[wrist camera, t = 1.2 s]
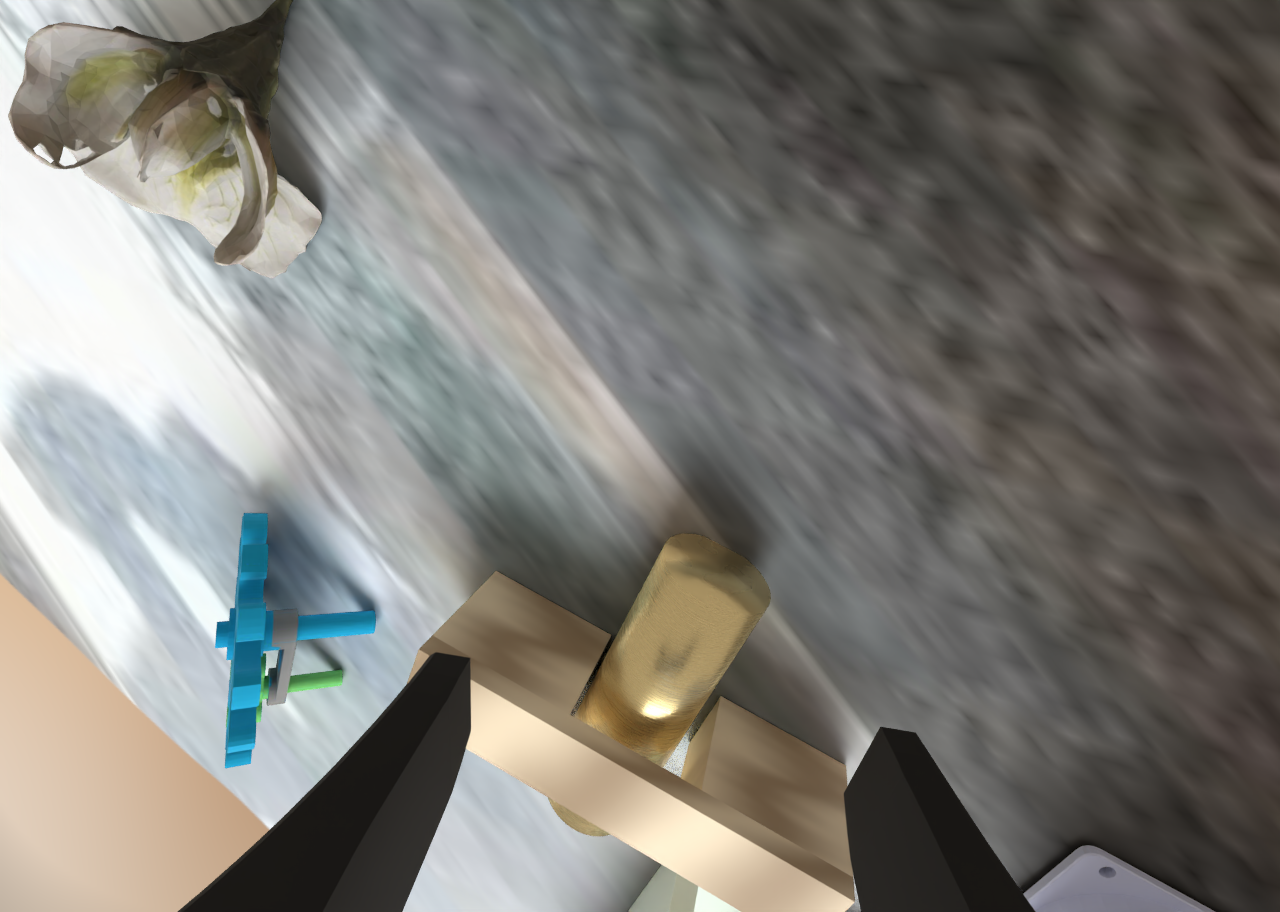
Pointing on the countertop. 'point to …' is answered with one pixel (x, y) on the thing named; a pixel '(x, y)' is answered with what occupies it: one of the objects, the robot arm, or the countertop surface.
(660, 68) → the countertop surface
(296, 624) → the gear
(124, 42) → the artificial flower
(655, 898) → the pale green slotted tray
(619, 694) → the axle
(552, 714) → the beam
